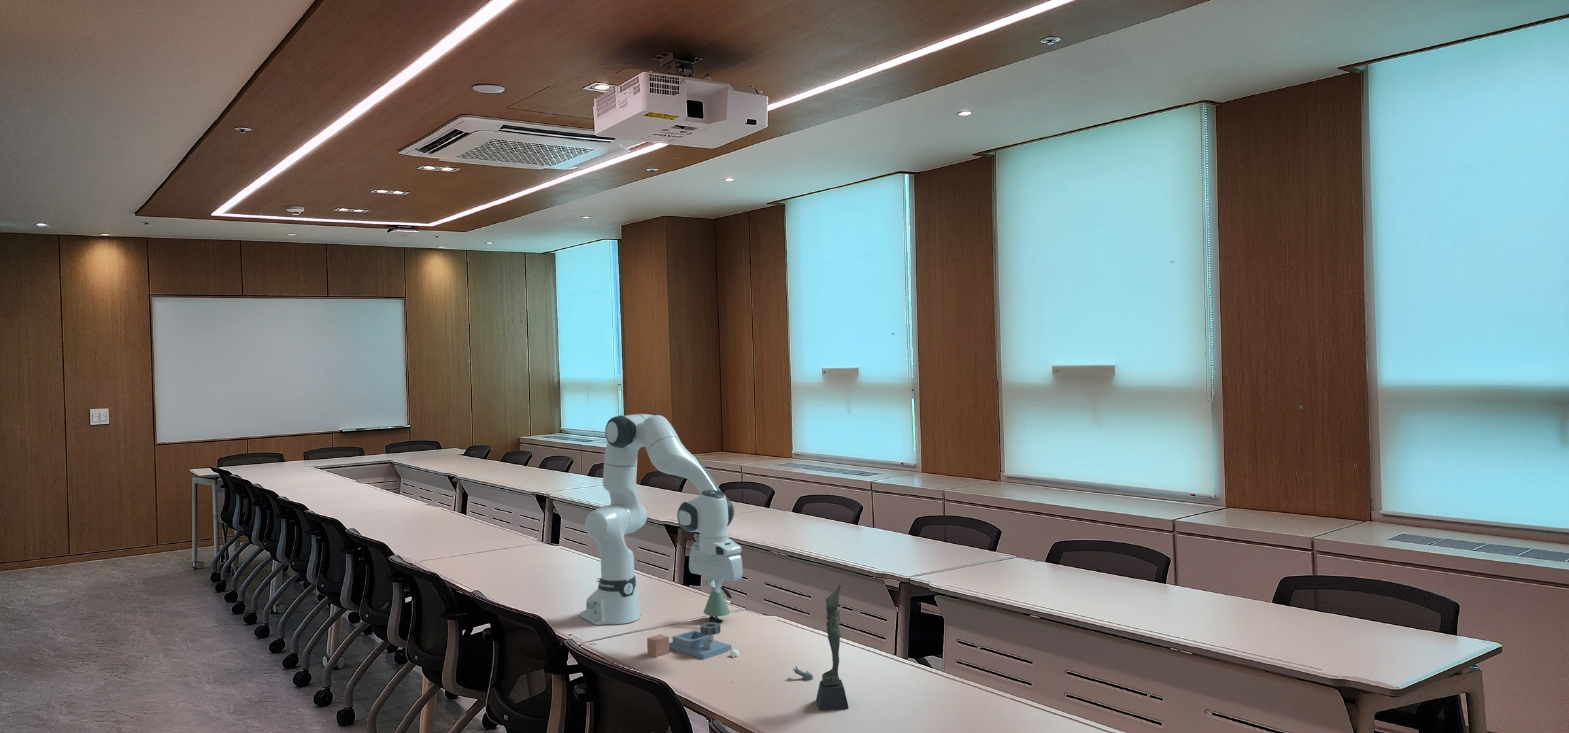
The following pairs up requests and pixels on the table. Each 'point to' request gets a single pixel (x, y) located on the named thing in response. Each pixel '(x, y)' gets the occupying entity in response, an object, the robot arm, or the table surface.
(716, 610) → the character figurine
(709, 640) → the chassis
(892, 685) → the table surface
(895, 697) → the table surface
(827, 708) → the statue
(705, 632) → the wheel
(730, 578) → the robot arm
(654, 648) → the brown small block
